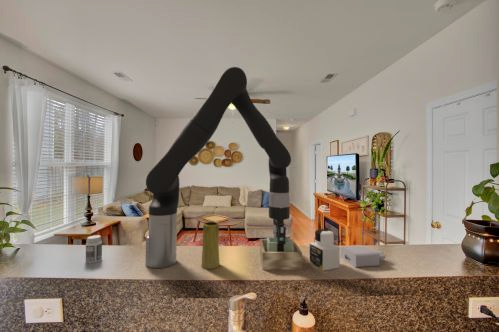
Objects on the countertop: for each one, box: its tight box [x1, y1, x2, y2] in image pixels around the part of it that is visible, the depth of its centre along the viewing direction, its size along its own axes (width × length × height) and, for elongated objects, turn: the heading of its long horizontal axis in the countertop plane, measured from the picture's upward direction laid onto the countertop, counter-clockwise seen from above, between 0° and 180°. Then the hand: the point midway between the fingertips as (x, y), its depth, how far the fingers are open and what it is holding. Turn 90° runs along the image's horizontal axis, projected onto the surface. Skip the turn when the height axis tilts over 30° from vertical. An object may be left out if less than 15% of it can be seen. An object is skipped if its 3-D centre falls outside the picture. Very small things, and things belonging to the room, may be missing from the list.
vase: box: [201, 221, 220, 270], centre depth 76 cm, size 6×6×14 cm
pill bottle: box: [85, 234, 103, 264], centre depth 79 cm, size 5×5×8 cm
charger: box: [340, 244, 388, 268], centre depth 81 cm, size 5×9×15 cm
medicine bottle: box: [309, 228, 341, 272], centre depth 77 cm, size 7×7×12 cm
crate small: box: [266, 236, 292, 252], centre depth 81 cm, size 8×6×5 cm
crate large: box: [259, 238, 303, 271], centre depth 81 cm, size 13×15×6 cm
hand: (278, 251), depth 81 cm, fingers closed on crate small, 6 cm apart
